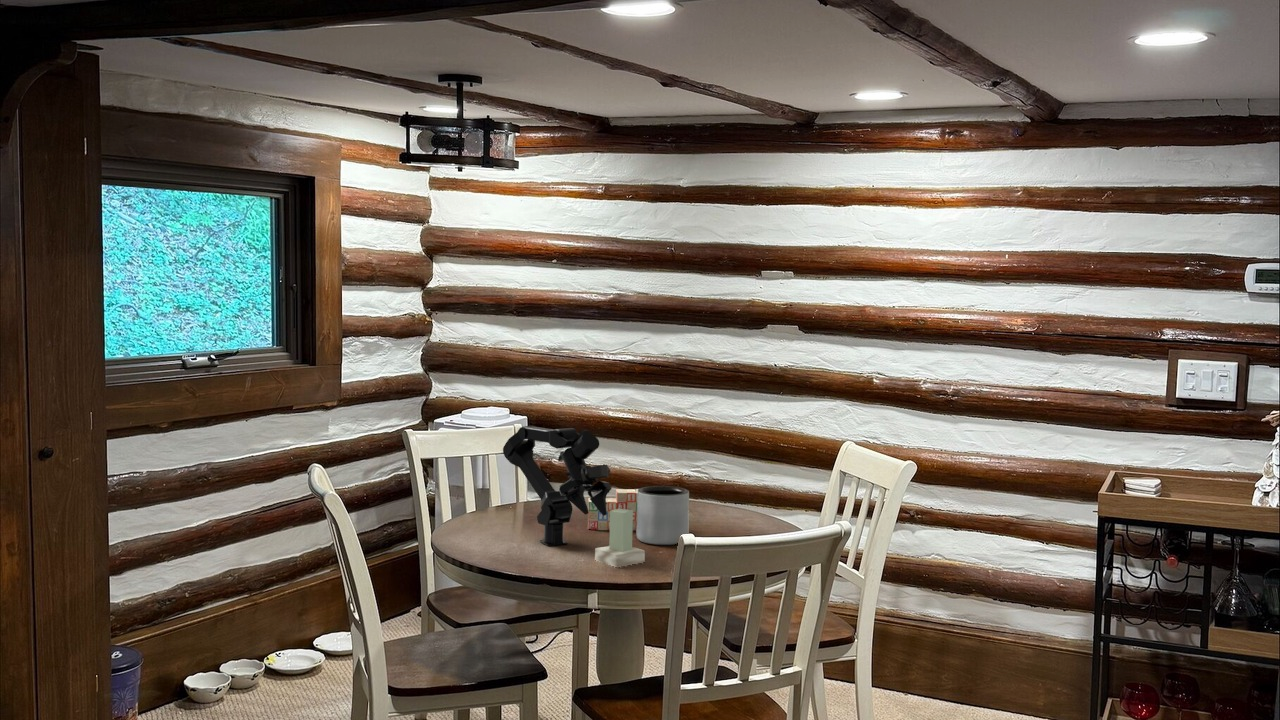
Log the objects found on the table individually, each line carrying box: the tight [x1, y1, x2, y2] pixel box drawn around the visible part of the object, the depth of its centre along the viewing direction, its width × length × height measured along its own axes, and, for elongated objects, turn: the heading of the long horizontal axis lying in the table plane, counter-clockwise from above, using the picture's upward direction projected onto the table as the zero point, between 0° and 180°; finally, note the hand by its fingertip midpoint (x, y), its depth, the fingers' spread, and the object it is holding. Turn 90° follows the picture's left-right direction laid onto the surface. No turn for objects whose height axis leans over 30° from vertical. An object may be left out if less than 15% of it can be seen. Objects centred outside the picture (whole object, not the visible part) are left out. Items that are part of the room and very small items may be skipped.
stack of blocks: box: [587, 488, 639, 531], centre depth 358 cm, size 21×6×12 cm, turn 93°
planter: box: [635, 485, 690, 546], centre depth 342 cm, size 16×16×16 cm
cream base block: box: [594, 545, 646, 568], centre depth 315 cm, size 10×10×4 cm
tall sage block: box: [608, 508, 633, 552], centre depth 314 cm, size 5×5×11 cm
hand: (596, 514), depth 320 cm, fingers open, 9 cm apart
